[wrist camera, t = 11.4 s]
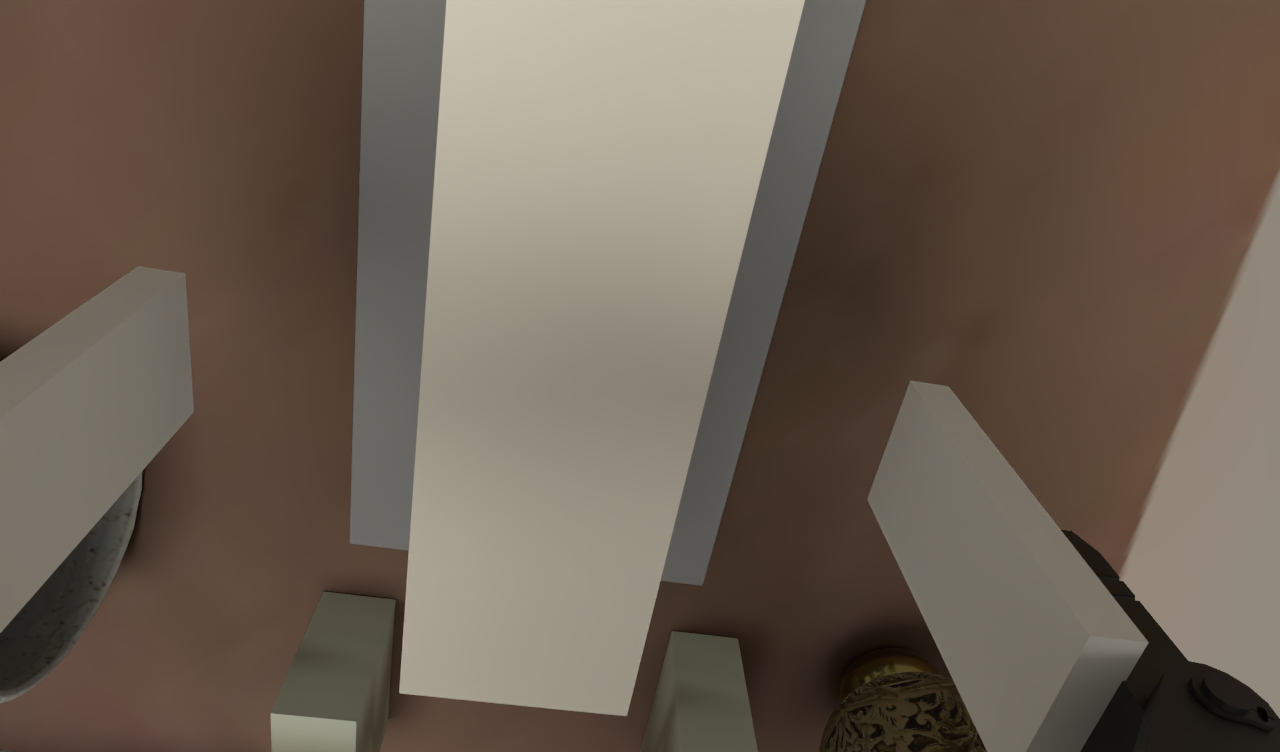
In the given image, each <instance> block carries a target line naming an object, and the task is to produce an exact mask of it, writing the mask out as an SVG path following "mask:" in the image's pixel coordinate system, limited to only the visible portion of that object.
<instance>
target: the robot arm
mask: <svg viewBox="0 0 1280 752" xmlns="http://www.w3.org/2000/svg"><path fill="white" fill-rule="evenodd" d="M193 412H194V403H193V387H192V371H191V356H190V340H189V324H188V309H187V293H186V277H185V273H181V272H174V271H167V270H161V269H154V268H147V267H140V266H138V267H136V268H135V269H133V270H132V271H131V272H129V273H128V274H126V275H125V276H123V277H122V278H120V279H119V280H118V281H116V282H115V283H113V284H112V285H110V286H109V287H107V288H106V289H105V290H103V291H102V292H100V293H99V294H97V295H96V296H94V297H93V298H92V299H90V300H89V301H87V302H86V303H84V304H83V305H81V306H80V307H79V308H77V309H76V310H74V311H73V312H71V313H70V314H68V315H67V316H66V317H64V318H63V319H61V320H60V321H58V322H57V323H56V324H54V325H53V326H51V327H50V328H48V329H47V330H45V331H44V332H43V333H41V334H40V335H38V336H37V337H35V338H34V339H32V340H31V341H30V342H28V343H27V344H25V345H24V346H22V347H21V348H19V349H18V350H17V351H15V352H14V353H12V354H11V355H9V356H8V357H6V358H5V359H4V360H2V361H1V362H0V633H1V632H2V631H3V630H4V628H5V627H6V626H7V625H8V624H9V623H10V622H11V620H12V619H13V618H14V617H15V616H16V615H17V614H18V612H19V611H20V610H21V609H22V608H23V607H24V606H25V604H26V603H27V602H28V601H29V600H30V599H31V598H32V596H33V595H34V594H35V593H36V592H37V591H38V590H39V588H40V587H41V586H42V585H43V584H44V583H45V582H46V580H47V579H48V578H49V577H50V576H51V575H52V574H53V572H54V571H55V570H56V569H57V568H58V567H59V566H60V564H61V563H62V562H63V561H64V560H65V559H66V558H67V556H68V555H69V554H70V553H71V552H72V551H73V550H74V548H75V547H76V546H77V545H78V544H79V543H80V542H81V540H82V539H83V538H84V537H85V536H86V535H87V534H88V532H89V531H90V530H91V529H92V528H93V527H94V526H95V524H96V523H97V522H98V521H99V520H100V519H101V518H102V516H103V515H104V514H105V513H106V512H107V511H108V510H109V508H110V507H111V506H112V505H113V504H114V503H115V502H116V500H117V499H118V498H119V497H120V496H121V495H122V494H123V492H124V491H125V490H126V489H127V488H128V487H129V486H130V484H131V483H132V482H133V481H134V480H135V479H136V478H137V476H138V475H139V474H140V473H141V472H142V471H143V470H144V468H145V467H146V466H147V465H148V464H149V463H150V462H151V460H152V459H153V458H154V457H155V456H156V455H157V454H158V452H159V451H160V450H161V449H162V448H163V447H164V446H165V444H166V443H167V442H168V441H169V440H170V439H171V438H172V436H173V435H174V434H175V433H176V432H177V431H178V430H179V428H180V427H181V426H182V425H183V424H184V423H185V422H186V420H187V419H188V418H189V417H190V416H191V415H192V414H193ZM867 500H868V502H869V504H870V506H871V509H872V511H873V513H874V515H875V517H876V519H877V521H878V523H879V525H880V527H881V530H882V532H883V534H884V536H885V538H886V540H887V542H888V544H889V546H890V548H891V551H892V553H893V555H894V557H895V559H896V561H897V563H898V565H899V567H900V570H901V572H902V574H903V576H904V578H905V580H906V582H907V584H908V586H909V588H910V591H911V593H912V595H913V597H914V599H915V601H916V603H917V605H918V607H919V609H920V612H921V614H922V616H923V618H924V620H925V622H926V624H927V626H928V628H929V630H930V633H931V635H932V637H933V639H934V641H935V643H936V645H937V647H938V649H939V651H940V654H941V656H942V658H943V660H944V662H945V664H946V666H947V668H948V670H949V672H950V675H951V677H952V679H953V681H954V683H955V685H956V687H957V689H958V691H959V694H960V696H961V698H962V700H963V702H964V704H965V706H966V708H967V710H968V712H969V715H970V717H971V719H972V721H973V723H974V725H975V727H976V729H977V731H978V733H979V736H980V738H981V740H982V742H983V744H984V746H985V748H986V750H987V752H1280V719H1279V718H1278V716H1277V715H1276V714H1275V712H1274V711H1273V710H1272V708H1271V707H1270V706H1269V704H1268V703H1267V702H1266V701H1265V700H1263V699H1262V698H1261V697H1260V696H1259V695H1258V694H1257V693H1255V692H1254V691H1253V690H1252V689H1251V688H1249V687H1248V686H1246V685H1245V684H1243V683H1242V682H1240V681H1238V680H1237V679H1235V678H1234V677H1232V676H1230V675H1229V674H1227V673H1225V672H1222V671H1220V670H1217V669H1215V668H1212V667H1210V666H1208V665H1205V664H1199V663H1195V662H1190V661H1188V660H1187V659H1186V658H1185V657H1184V655H1183V654H1182V653H1181V652H1180V650H1179V649H1178V648H1177V647H1176V646H1175V644H1174V643H1173V642H1172V641H1171V640H1170V638H1169V637H1168V636H1167V634H1166V633H1165V632H1164V631H1163V630H1162V628H1161V627H1160V626H1159V625H1158V623H1157V622H1156V621H1155V620H1154V619H1153V617H1152V616H1151V615H1150V614H1149V612H1147V610H1146V609H1145V608H1144V606H1143V605H1142V604H1141V603H1140V601H1135V595H1134V594H1133V593H1132V592H1131V590H1130V589H1129V588H1128V587H1127V585H1126V584H1125V583H1124V582H1123V581H1119V576H1118V574H1117V573H1116V572H1115V571H1114V570H1113V568H1112V567H1111V566H1110V565H1109V563H1108V562H1107V561H1106V560H1105V559H1104V557H1103V556H1102V555H1101V554H1100V553H1099V552H1098V551H1097V550H1095V549H1094V548H1093V547H1091V546H1090V545H1089V544H1087V543H1086V542H1085V541H1084V540H1082V539H1081V538H1080V537H1078V536H1077V535H1076V534H1075V533H1073V532H1072V531H1066V530H1060V528H1059V527H1058V526H1057V525H1056V523H1055V522H1054V521H1053V519H1052V518H1051V517H1050V516H1049V514H1048V513H1047V512H1046V510H1045V509H1044V508H1043V507H1042V505H1041V504H1040V503H1039V502H1038V500H1037V499H1036V498H1035V496H1034V495H1033V494H1032V493H1031V491H1030V490H1029V489H1028V487H1027V486H1026V485H1025V484H1024V482H1023V481H1022V480H1021V478H1020V477H1019V476H1018V475H1017V473H1016V472H1015V471H1014V470H1013V468H1012V467H1011V466H1010V464H1009V463H1008V462H1007V461H1006V459H1005V458H1004V457H1003V455H1002V454H1001V453H1000V452H999V450H998V449H997V448H996V446H995V445H994V444H993V443H992V441H991V440H990V439H989V438H988V436H987V435H986V434H985V432H984V431H983V430H982V429H981V427H980V426H979V425H978V423H977V422H976V421H975V420H974V418H973V417H972V416H971V414H970V413H969V412H968V411H967V409H966V408H965V407H964V406H963V404H962V403H961V402H960V400H959V399H958V398H957V397H956V395H955V394H954V393H953V391H952V390H951V389H950V388H949V386H944V385H937V384H930V383H923V382H917V381H910V383H909V385H908V388H907V391H906V394H905V396H904V399H903V402H902V405H901V407H900V410H899V413H898V416H897V419H896V421H895V424H894V427H893V430H892V432H891V435H890V438H889V441H888V443H887V446H886V449H885V452H884V454H883V457H882V460H881V463H880V465H879V468H878V471H877V474H876V476H875V479H874V482H873V485H872V487H871V490H870V493H869V496H868V498H867Z"/></svg>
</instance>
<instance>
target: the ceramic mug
mask: <svg viewBox="0 0 1280 752" xmlns="http://www.w3.org/2000/svg"><path fill="white" fill-rule="evenodd" d="M142 472H143V471H142ZM142 472H141V473H140V474H139V475H138V476H137V478H136V479H135V480H134V481H133V482H132V483H131V484H130V486H129V487H128V488H127V489H126V490H125V491H124V492H123V494H122V495H121V496H120V497H119V498H118V499H117V500H116V502H115V503H114V504H113V505H112V506H111V507H110V508H109V510H108V511H107V512H106V513H105V514H104V515H103V516H102V518H101V519H100V520H99V521H98V522H97V523H96V524H95V526H94V527H93V528H92V529H91V530H90V531H89V532H88V534H87V535H86V536H85V537H84V538H83V539H82V540H81V542H80V543H79V544H78V545H77V546H76V547H75V548H74V550H73V551H72V552H71V553H70V554H69V555H68V556H67V558H66V559H65V560H64V561H63V562H62V563H61V564H60V566H59V567H58V568H57V569H56V570H55V571H54V572H53V574H52V575H51V576H50V577H49V578H48V579H47V580H46V582H45V583H44V584H43V585H42V586H41V587H40V588H39V590H38V591H37V592H36V593H35V594H34V595H33V596H32V598H31V599H30V600H29V601H28V602H27V603H26V604H25V606H24V607H23V608H22V609H21V610H20V611H19V612H18V614H17V615H16V616H15V617H14V618H13V619H12V620H11V622H10V623H9V624H8V625H7V626H6V627H5V628H4V630H3V631H2V632H1V633H0V703H4V702H8V701H10V700H12V699H15V698H18V697H20V696H22V695H23V694H24V693H26V692H27V691H29V690H30V689H32V688H33V687H34V686H36V685H37V684H38V683H39V682H41V681H42V680H43V679H44V678H45V677H47V676H48V675H49V673H50V672H51V671H52V670H53V669H54V668H55V667H56V666H57V665H58V664H59V663H60V662H61V661H62V660H63V659H64V658H65V657H66V656H67V655H68V653H69V652H70V650H71V649H72V647H73V646H74V645H75V643H76V642H77V640H78V639H79V637H80V636H81V634H82V633H83V632H84V630H85V629H86V627H87V626H88V624H89V622H90V621H91V619H92V617H93V616H94V614H95V612H96V611H97V609H98V608H99V606H100V604H101V603H102V601H103V599H104V597H105V595H106V593H107V591H108V589H109V587H110V585H111V582H112V580H113V578H114V576H115V574H116V572H117V570H118V568H119V566H120V563H121V560H122V558H123V555H124V553H125V551H126V549H127V546H128V543H129V540H130V537H131V535H132V532H133V529H134V525H135V519H136V514H137V509H138V504H139V499H140V496H141V490H142Z"/></svg>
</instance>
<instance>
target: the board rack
mask: <svg viewBox="0 0 1280 752" xmlns="http://www.w3.org/2000/svg"><path fill="white" fill-rule="evenodd" d="M395 601H396V600H394V599H385V598H376V597H367V596H358V595H350V594H341V593H332V592H323V594H322V596H321V598H320V600H319V603H318V605H317V607H316V610H315V612H314V614H313V617H312V619H311V621H310V624H309V626H308V628H307V630H306V633H305V635H304V637H303V640H302V642H301V644H300V647H299V649H298V651H297V654H296V656H295V658H294V660H293V663H292V665H291V667H290V670H289V672H288V674H287V677H286V679H285V681H284V684H283V686H282V688H281V691H280V693H279V695H278V697H277V700H276V702H275V704H274V707H273V709H272V711H271V741H272V752H379V751H380V748H381V744H382V741H383V737H384V734H385V730H386V727H387V723H388V716H389V699H390V683H391V667H392V650H393V634H394V618H395ZM641 748H642V752H758V749H757V744H756V738H755V732H754V727H753V721H752V715H751V710H750V704H749V698H748V693H747V687H746V681H745V676H744V670H743V664H742V659H741V653H740V648H739V642H738V638H730V637H721V636H712V635H703V634H694V633H686V632H677V631H672V632H671V636H670V640H669V643H668V647H667V651H666V655H665V658H664V662H663V666H662V670H661V673H660V677H659V681H658V685H657V688H656V692H655V696H654V700H653V704H652V707H651V711H650V715H649V719H648V722H647V726H646V730H645V734H644V737H643V741H642V745H641Z"/></svg>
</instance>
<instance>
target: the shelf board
mask: <svg viewBox="0 0 1280 752" xmlns="http://www.w3.org/2000/svg"><path fill="white" fill-rule="evenodd" d="M804 2H805V0H446V14H445V28H444V43H443V57H442V72H441V87H440V101H439V116H438V131H437V145H436V160H435V175H434V189H433V204H432V219H431V233H430V248H429V262H428V277H427V292H426V306H425V321H424V336H423V350H422V365H421V380H420V394H419V409H418V424H417V438H416V453H415V467H414V482H413V497H412V511H411V526H410V541H409V555H408V570H407V585H406V599H405V614H404V629H403V643H402V658H401V672H400V687H399V693H401V694H411V695H421V696H431V697H441V698H451V699H460V700H470V701H480V702H490V703H500V704H510V705H520V706H530V707H539V708H549V709H559V710H569V711H579V712H589V713H599V714H609V715H619V716H627V713H628V709H629V705H630V701H631V697H632V693H633V689H634V685H635V681H636V677H637V673H638V669H639V665H640V661H641V657H642V653H643V649H644V645H645V641H646V637H647V633H648V629H649V625H650V621H651V617H652V613H653V609H654V605H655V601H656V597H657V593H658V589H659V585H660V581H661V577H662V573H663V569H664V565H665V561H666V557H667V553H668V549H669V545H670V541H671V537H672V533H673V529H674V524H675V520H676V516H677V512H678V508H679V504H680V500H681V496H682V492H683V488H684V484H685V480H686V476H687V472H688V468H689V464H690V460H691V456H692V452H693V448H694V444H695V440H696V436H697V432H698V428H699V424H700V420H701V416H702V412H703V408H704V404H705V400H706V396H707V392H708V388H709V384H710V380H711V376H712V372H713V368H714V364H715V360H716V356H717V352H718V348H719V344H720V340H721V336H722V332H723V328H724V324H725V319H726V315H727V311H728V307H729V303H730V299H731V295H732V291H733V287H734V283H735V279H736V275H737V271H738V267H739V263H740V259H741V255H742V251H743V247H744V243H745V239H746V235H747V231H748V227H749V223H750V219H751V215H752V211H753V207H754V203H755V199H756V195H757V191H758V187H759V183H760V179H761V175H762V171H763V167H764V163H765V159H766V155H767V151H768V147H769V143H770V139H771V135H772V131H773V127H774V123H775V119H776V115H777V110H778V106H779V102H780V98H781V94H782V90H783V86H784V82H785V78H786V74H787V70H788V66H789V62H790V58H791V54H792V50H793V46H794V42H795V38H796V34H797V30H798V26H799V22H800V18H801V14H802V10H803V6H804Z"/></svg>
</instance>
